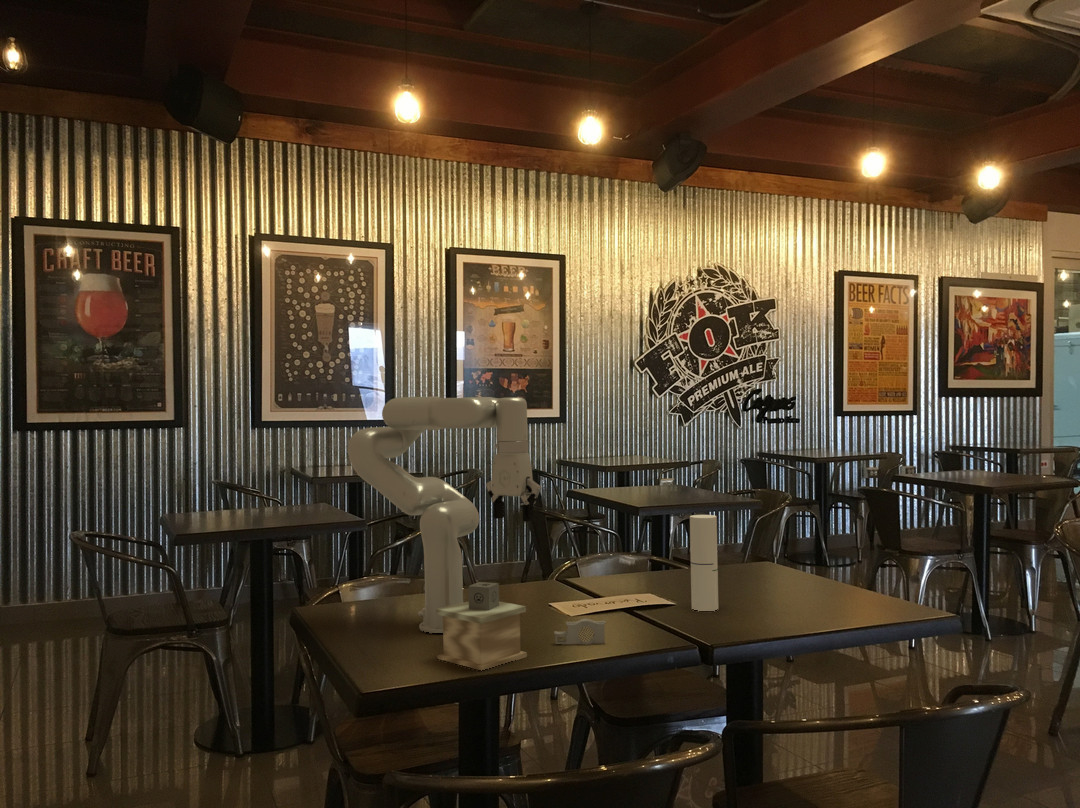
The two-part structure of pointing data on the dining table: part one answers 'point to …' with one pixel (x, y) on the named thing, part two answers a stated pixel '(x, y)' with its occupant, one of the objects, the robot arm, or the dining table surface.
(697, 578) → the cylindrical container
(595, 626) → the garden wall model
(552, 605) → the dining table surface
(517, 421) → the robot arm
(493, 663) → the display pedestal
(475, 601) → the gray face cube
